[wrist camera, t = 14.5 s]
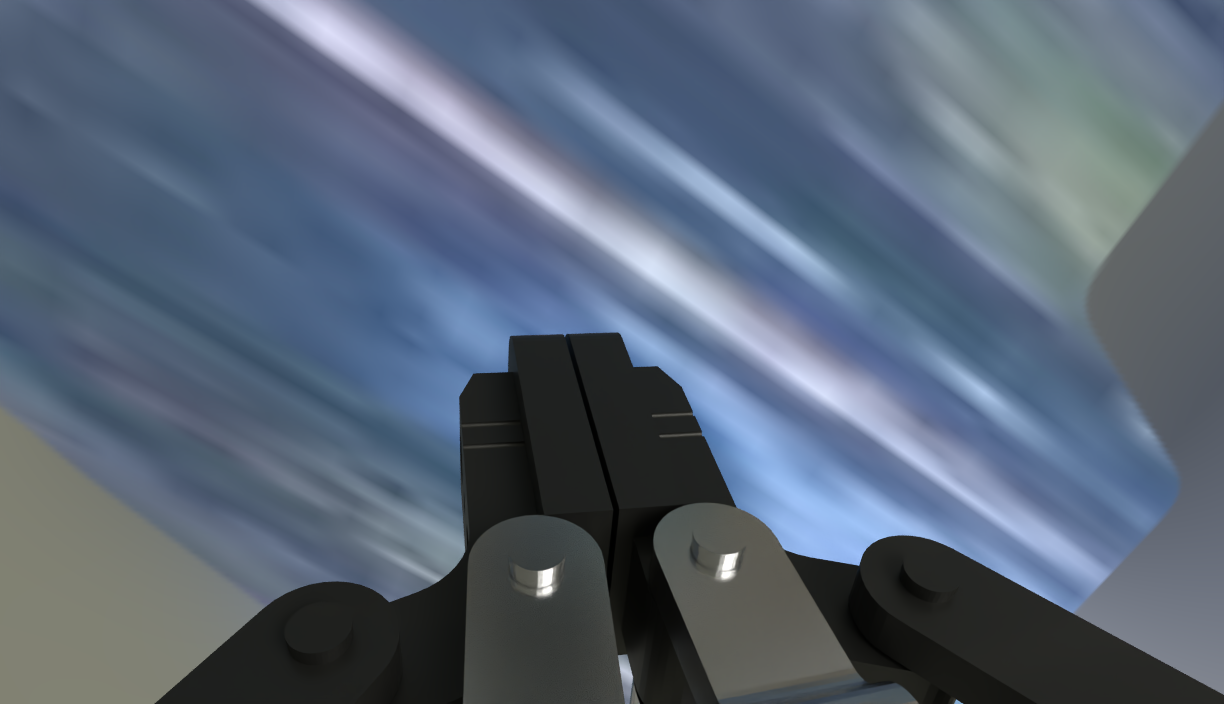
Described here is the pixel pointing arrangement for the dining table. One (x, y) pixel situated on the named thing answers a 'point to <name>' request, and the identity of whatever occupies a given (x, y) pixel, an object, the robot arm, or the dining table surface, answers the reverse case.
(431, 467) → the dining table surface
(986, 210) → the dining table surface
